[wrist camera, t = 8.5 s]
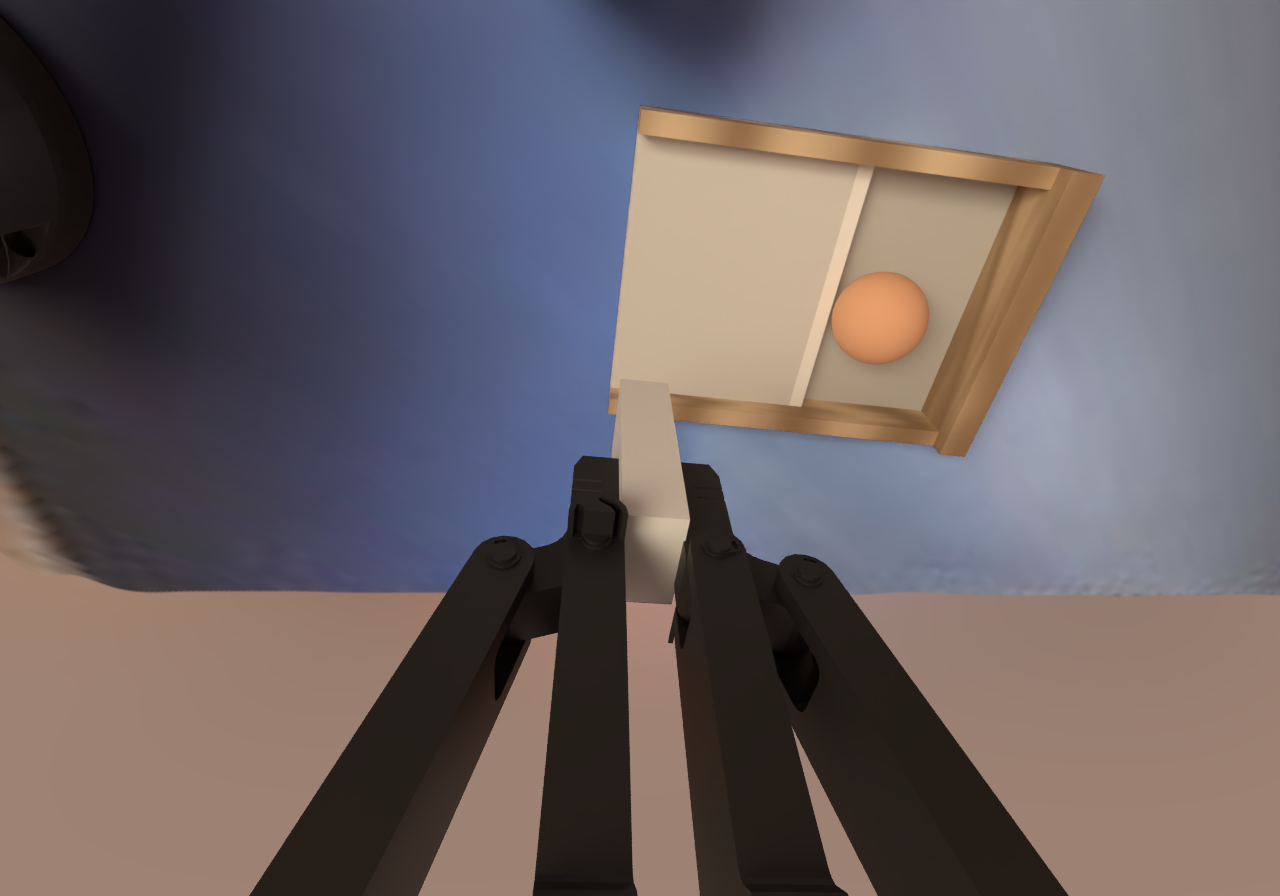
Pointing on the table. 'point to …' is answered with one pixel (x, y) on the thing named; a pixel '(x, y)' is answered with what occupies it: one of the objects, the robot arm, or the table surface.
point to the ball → (880, 317)
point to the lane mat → (787, 270)
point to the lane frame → (991, 316)
